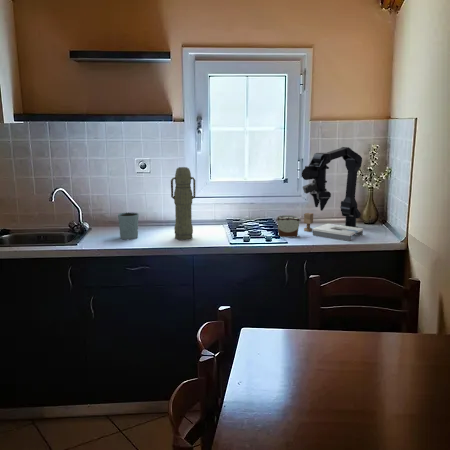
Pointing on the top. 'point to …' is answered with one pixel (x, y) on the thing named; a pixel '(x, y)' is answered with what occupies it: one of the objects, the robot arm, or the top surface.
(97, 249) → the top surface
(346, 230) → the keyhole plate
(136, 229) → the green plant pot
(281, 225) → the food container
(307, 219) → the T-peg
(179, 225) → the thermos
